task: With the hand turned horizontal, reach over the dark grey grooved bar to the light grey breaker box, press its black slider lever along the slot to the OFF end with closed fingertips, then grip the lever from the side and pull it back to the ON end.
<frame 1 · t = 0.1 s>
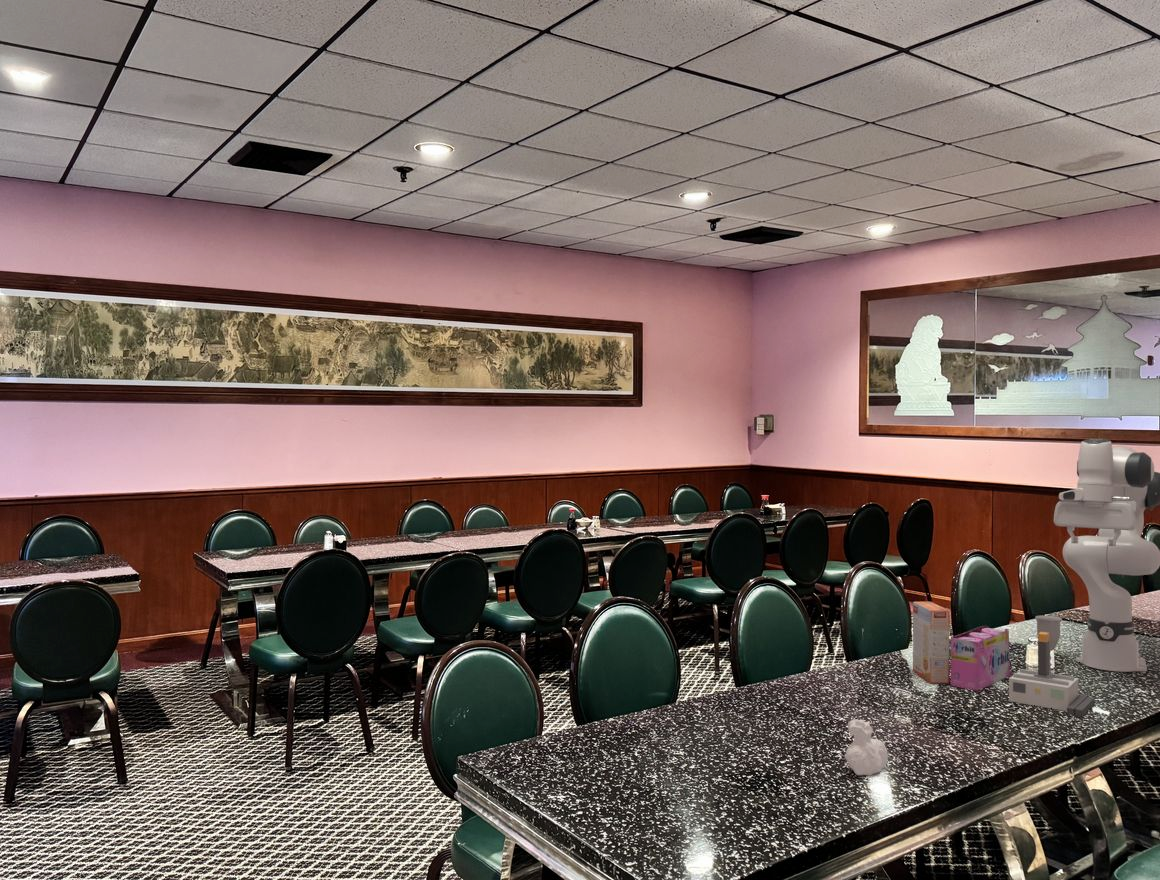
hand: (1093, 544, 258), 39 cm above the table, tool pointing down, fingers open, 8 cm apart
dark grey grooved bar: (1081, 707, 234), on the table
breaker lever: (1043, 655, 240), point 12 cm above the table, slide at 0.0 cm
breaker box: (1043, 701, 240), on the table
bust: (864, 770, 192), on the table
gum box: (980, 681, 261), on the table
cracker box: (930, 678, 264), on the table
chalice: (1048, 682, 259), on the table
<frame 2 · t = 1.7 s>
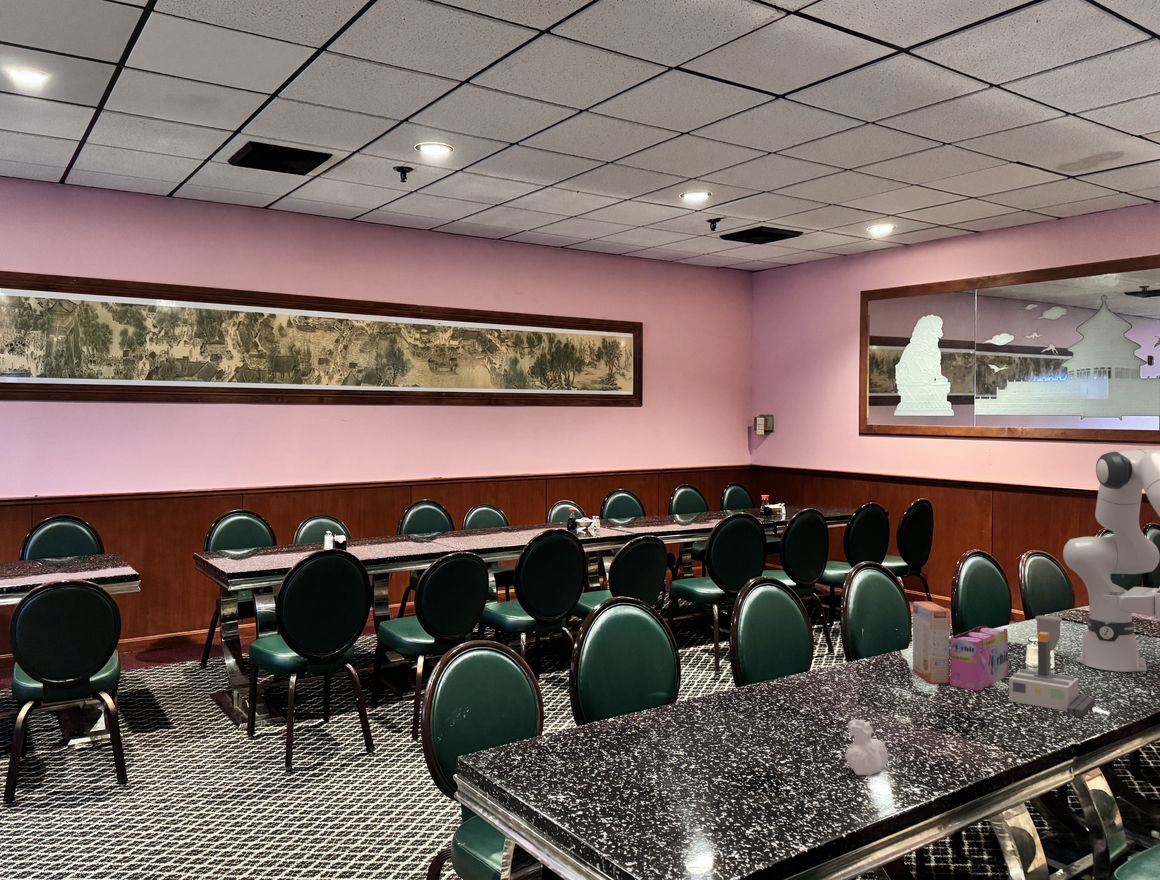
hand: (1105, 596, 237), 28 cm above the table, tool horizontal, fingers open, 6 cm apart
nothing on the table moved.
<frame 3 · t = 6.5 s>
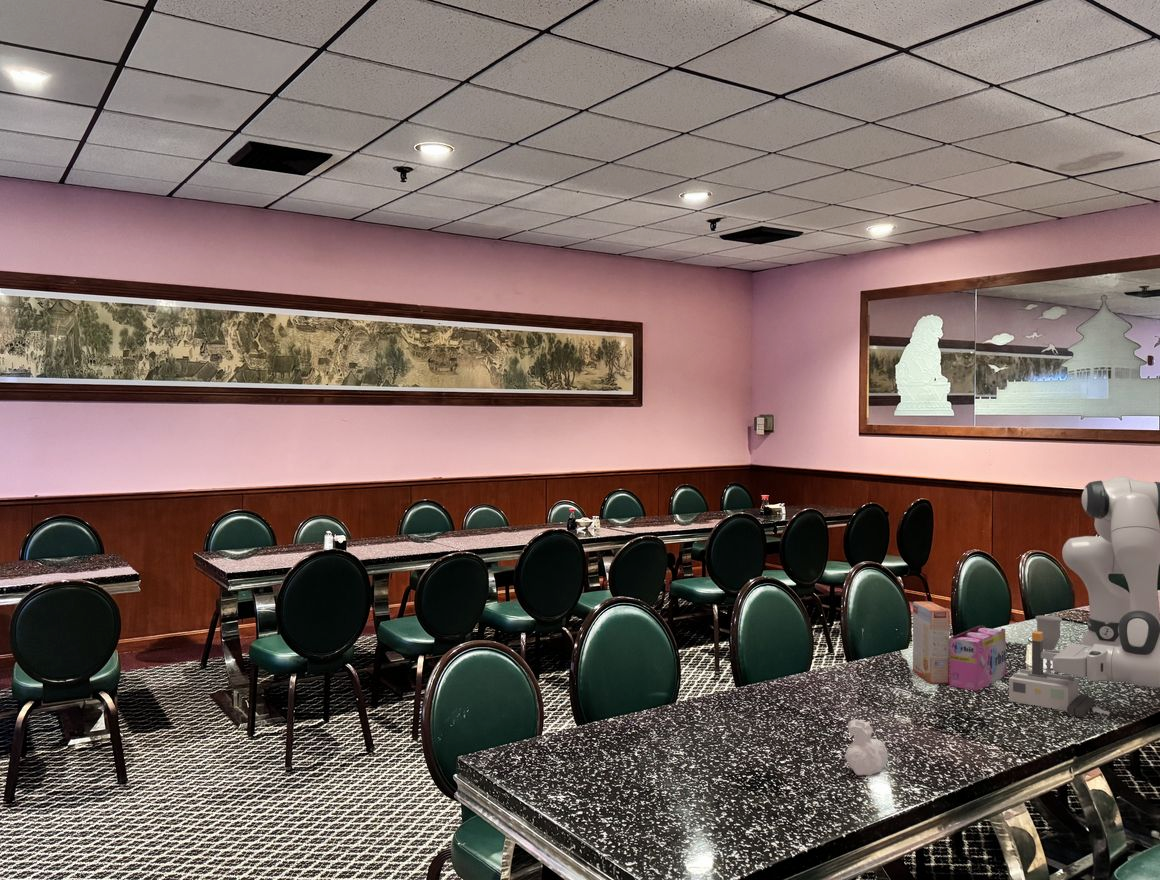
hand: (1042, 653, 240), 12 cm above the table, tool horizontal, fingers closed, pressing on breaker lever
breaker lever: (1037, 654, 241), point 12 cm above the table, slide at -1.4 cm, touching gripper
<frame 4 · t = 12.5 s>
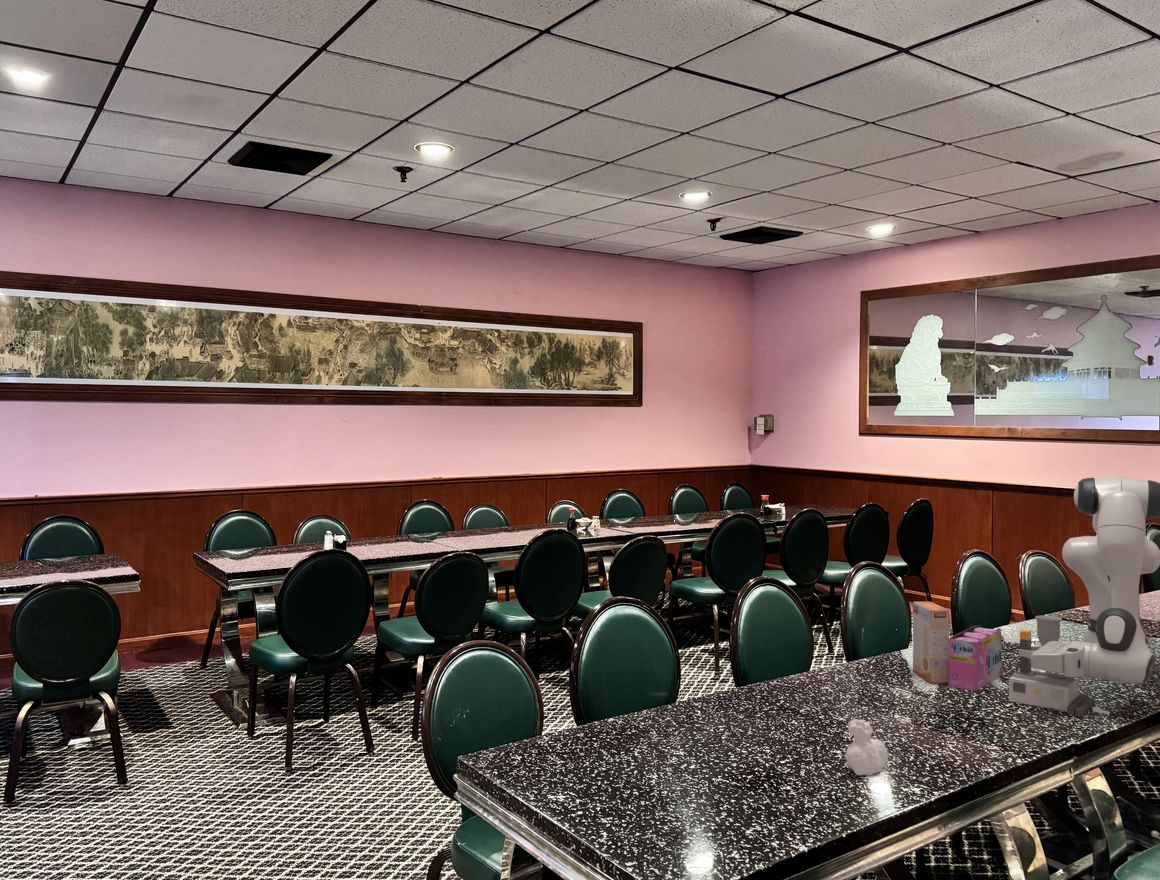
hand: (1021, 650, 244), 13 cm above the table, tool horizontal, fingers closed on breaker lever, 3 cm apart
breaker lever: (1025, 653, 243), point 12 cm above the table, slide at -4.4 cm, touching gripper
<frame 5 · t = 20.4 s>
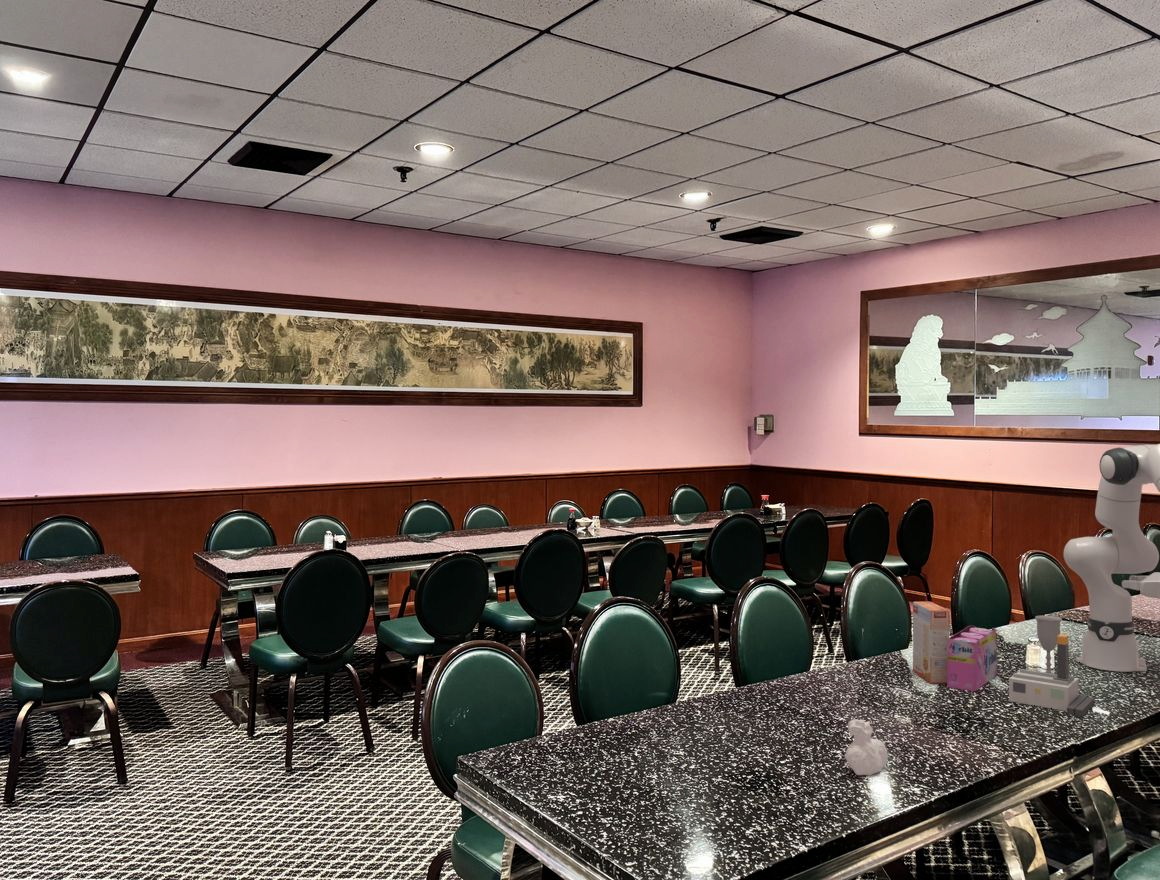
hand: (1125, 581, 236), 32 cm above the table, tool horizontal, fingers open, 8 cm apart
breaker lever: (1062, 658, 237), point 12 cm above the table, slide at 4.6 cm
at the end: breaker lever slide at 4.6 cm; the gripper is holding nothing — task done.
